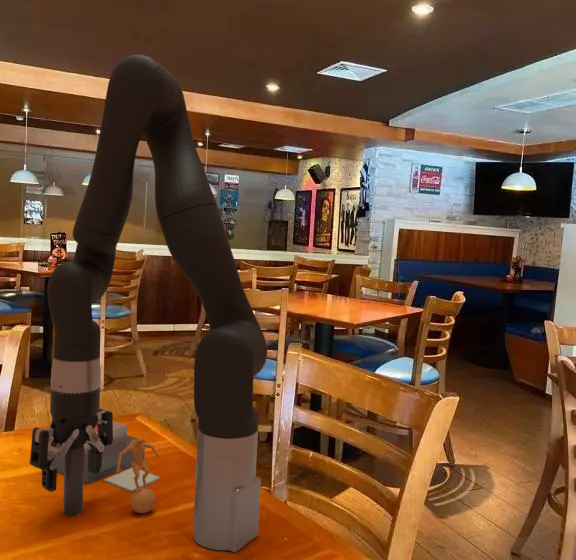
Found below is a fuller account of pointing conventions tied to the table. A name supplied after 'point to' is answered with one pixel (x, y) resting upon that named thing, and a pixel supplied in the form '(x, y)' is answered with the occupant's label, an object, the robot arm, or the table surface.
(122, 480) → the pad
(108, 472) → the box
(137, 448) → the figurine
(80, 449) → the dark grey cylinder
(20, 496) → the table surface
